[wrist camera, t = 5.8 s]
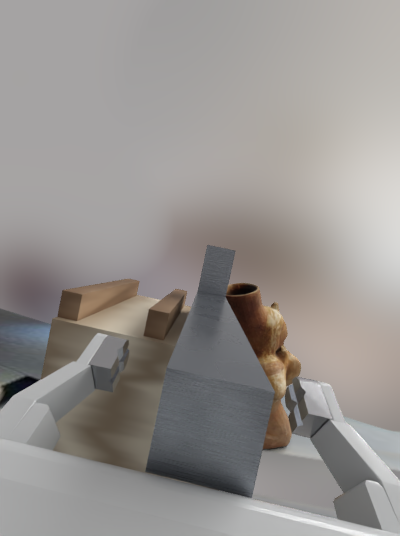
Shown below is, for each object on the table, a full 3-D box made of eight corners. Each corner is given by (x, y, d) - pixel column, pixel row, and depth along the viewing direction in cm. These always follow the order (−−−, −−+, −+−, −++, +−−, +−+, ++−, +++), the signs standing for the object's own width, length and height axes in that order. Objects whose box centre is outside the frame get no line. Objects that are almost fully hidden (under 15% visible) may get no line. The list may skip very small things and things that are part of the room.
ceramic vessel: (306, 452, 42) (340, 302, 42) (207, 476, 33) (248, 286, 33) (255, 399, 57) (280, 287, 56) (177, 406, 48) (205, 273, 47)
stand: (188, 500, 29) (231, 300, 29) (170, 714, 15) (253, 333, 15) (90, 476, 30) (129, 278, 29) (-14, 661, 16) (57, 290, 15)
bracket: (218, 317, 26) (232, 252, 26) (251, 497, 6) (315, 209, 6) (193, 312, 26) (207, 247, 26) (145, 471, 6) (203, 187, 6)
